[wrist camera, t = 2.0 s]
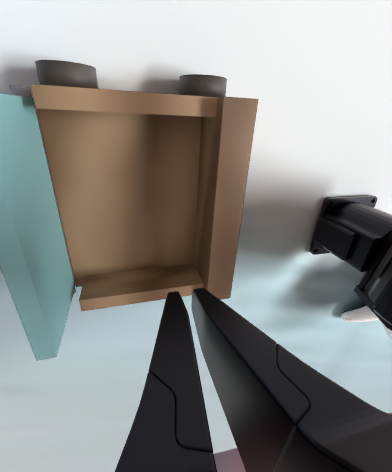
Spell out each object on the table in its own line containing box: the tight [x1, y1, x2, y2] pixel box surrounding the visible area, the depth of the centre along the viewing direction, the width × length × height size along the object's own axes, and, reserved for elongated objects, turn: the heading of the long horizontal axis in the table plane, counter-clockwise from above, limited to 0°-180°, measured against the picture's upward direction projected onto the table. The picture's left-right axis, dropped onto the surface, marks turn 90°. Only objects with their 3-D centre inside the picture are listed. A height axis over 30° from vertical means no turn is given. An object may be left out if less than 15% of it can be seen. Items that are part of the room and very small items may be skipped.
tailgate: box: [0, 85, 76, 361], centre depth 13 cm, size 1×14×7 cm, turn 178°
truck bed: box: [31, 60, 258, 311], centre depth 17 cm, size 12×16×6 cm
